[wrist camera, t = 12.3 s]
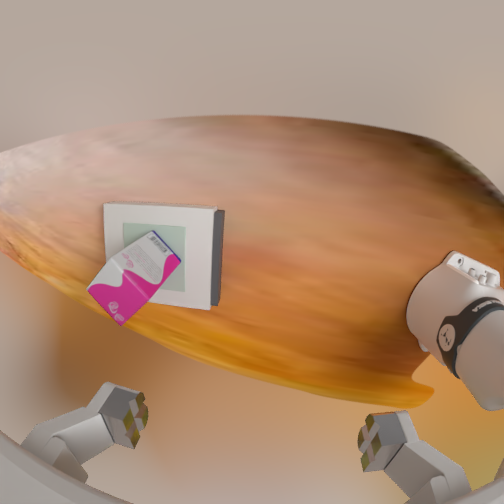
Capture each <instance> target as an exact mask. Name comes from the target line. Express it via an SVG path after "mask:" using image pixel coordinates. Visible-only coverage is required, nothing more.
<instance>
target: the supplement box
mask: <svg viewBox="0 0 504 504" xmlns="http://www.w3.org/2000/svg"><path fill="white" fill-rule="evenodd" d="M180 263H181V259H180V258H179V257H178V256H177V255H176V254H175V253H174V252H173V251H172V250H171V248H170V247H169V246H168V245H167V244H166V243H165V242H164V241H163V240H162V239H161V238H160V237H159V235H158V234H157V233H156V232H155V231H154V230H153V231H151V232H149V233H148V234H146V235H144V236H143V237H141V238H139V239H138V240H136V241H135V242H133V243H132V244H130V245H129V246H127V247H125V248H124V249H122V250H121V251H119V252H118V253H116V254H115V255H113V256H112V257H110V258H109V260H108V261H107V262H106V263H105V265H104V266H103V267H102V268H101V270H100V271H99V272H98V274H97V275H96V276H95V278H94V279H93V281H92V282H91V283H90V285H89V286H88V287H87V289H86V290H87V291H88V292H89V293H90V294H91V295H92V296H93V298H94V299H95V300H96V301H97V302H98V303H99V304H100V305H101V306H102V307H103V308H104V309H105V310H106V311H107V313H108V314H109V315H110V316H111V317H112V318H113V319H114V320H115V321H116V322H117V323H118V324H119V325H120V326H122V325H123V324H124V323H125V322H126V321H127V320H128V319H129V318H130V317H131V316H132V315H133V314H135V313H136V312H137V311H138V310H139V309H140V308H141V307H142V306H143V305H144V304H145V303H147V302H148V301H149V300H150V299H151V297H152V296H153V295H154V294H155V292H156V291H157V290H158V289H159V288H160V287H161V285H162V284H163V283H164V282H165V281H166V279H167V278H168V277H169V276H170V275H171V273H172V272H173V271H174V270H175V269H176V268H177V266H178V265H179V264H180Z"/></svg>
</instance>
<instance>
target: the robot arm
mask: <svg viewBox="0 0 504 504" xmlns="http://www.w3.org/2000/svg"><path fill="white" fill-rule="evenodd" d="M458 260H459V261H458ZM499 285H500V275H499V272H498V271H496V270H495V269H493V268H491V267H489V266H487V265H485V264H483V263H481V262H478V261H476V260H474V259H472V258H470V257H468V256H466V255H463V254H461V253H459V252H457V251H452V252H450V253H449V254H448V256H447V257H446V258H445V260H444V261H443V262H442V263H441V264H440V265H439V266H438V267H436V268H434V269H433V270H431V271H430V272H429V273H428V274H427V275H425V276H424V277H423V279H422V280H421V281H420V282H419V283H418V285H417V286H416V288H415V289H414V291H413V293H412V295H411V297H410V300H409V303H408V307H407V314H406V319H407V325H408V328H409V330H410V331H411V333H412V334H413V335H414V336H415V337H416V338H417V339H418V342H419V346H420V348H421V349H422V350H423V351H424V352H427V351H429V352H430V353H431V354H432V355H433V356H434V357H435V358H436V359H437V360H438V361H439V362H440V363H441V364H442V365H444V366H447V367H448V369H449V371H450V372H451V373H453V374H454V375H455V377H457V378H459V379H461V380H462V381H463V383H464V384H465V385H466V387H467V388H468V389H469V391H470V392H471V394H472V395H473V396H474V398H475V399H476V400H477V402H478V403H479V405H480V406H481V407H482V408H483V409H485V410H488V411H495V410H500V409H504V289H503V288H501V287H500V286H499ZM144 400H145V397H144V394H143V393H142V392H139V391H136V390H132V389H129V388H126V387H123V386H119V385H116V384H113V383H110V382H106V383H104V384H103V385H102V387H101V388H100V389H99V391H98V392H97V393H96V395H95V396H94V397H93V399H92V400H91V401H90V403H89V404H88V406H87V407H86V408H85V407H81V408H79V409H76V410H74V411H71V412H69V413H66V414H64V415H61V416H58V417H56V418H53V419H51V420H48V421H45V422H43V423H40V424H37V425H36V426H35V427H34V428H33V430H32V431H31V432H30V433H29V435H28V436H27V437H26V439H25V440H24V441H23V442H22V444H21V445H19V444H18V443H16V442H15V441H14V440H12V439H11V438H9V437H8V436H7V435H6V434H4V433H3V432H2V431H1V430H0V504H133V503H130V502H127V501H124V500H122V499H119V498H116V497H114V496H112V495H109V494H107V493H104V492H102V491H100V490H98V489H95V488H93V487H91V486H89V485H87V484H85V482H86V480H87V478H88V474H87V473H86V471H85V470H84V469H83V467H82V466H81V464H83V463H84V462H86V461H88V460H89V459H91V458H93V457H94V456H96V455H98V454H99V453H101V452H102V451H104V450H106V449H107V448H109V447H110V446H112V445H114V443H116V444H119V445H122V446H126V447H129V448H132V449H135V447H136V444H137V442H138V440H139V438H140V435H139V431H141V430H142V429H144V428H145V426H146V424H147V420H148V408H147V406H146V405H145V404H144V403H143V402H144ZM365 421H366V425H364V426H363V427H362V428H361V430H360V432H359V435H358V448H359V450H360V451H361V452H362V453H363V456H362V458H361V463H362V468H363V472H369V471H377V470H384V472H385V473H386V474H387V475H388V476H389V477H390V478H391V479H392V480H393V481H394V482H395V483H396V484H397V485H398V486H399V487H400V488H401V489H402V490H403V491H404V493H406V494H407V496H408V497H410V499H409V500H408V501H407V502H406V503H405V504H504V458H503V461H502V463H501V465H500V467H499V469H498V471H497V473H496V476H495V478H494V481H492V482H490V483H488V484H486V485H484V486H482V487H480V488H478V489H476V490H474V491H472V490H471V488H470V485H469V482H468V480H467V477H466V475H465V472H464V470H463V468H462V467H461V466H459V465H458V464H457V463H455V462H454V461H452V460H451V459H449V458H448V457H446V456H445V455H443V454H442V453H441V452H439V451H438V450H436V449H435V448H433V447H432V446H431V445H429V444H428V443H426V442H425V441H423V440H421V441H420V440H419V438H418V435H417V433H416V430H415V428H414V426H413V423H412V421H411V418H410V416H409V414H408V412H407V411H405V410H404V411H396V412H385V413H374V414H369V415H368V416H367V418H366V420H365Z"/></svg>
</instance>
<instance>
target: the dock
mask: <svg viewBox="0 0 504 504" xmlns="http://www.w3.org/2000/svg"><path fill="white" fill-rule="evenodd" d="M217 207H218V206H206V205H190V204H172V203H152V202H127V201H112V202H108V203H104V237H105V254H106V262H107V261H108V260H109V258H110V257H112V256H113V255H115V254H116V253H118V252H119V251H121V250H122V249H124V248H125V247H127V246H129V245H130V244H132V243H133V242H135V241H136V240H138V239H139V238H141V237H143V236H144V235H146V234H148V233H149V232H151V231H153V230H154V231H155V232H156V233H157V234H158V235H159V237H160V238H161V239H162V240H163V241H164V242H165V243H166V244H167V245H168V246H169V247H170V248H171V250H172V251H173V252H174V253H175V254H176V255H177V256H178V257H179V258H180V259H181V263H180V264H179V265H178V266H177V268H176V269H175V270H174V271H173V272H172V273H171V275H170V276H169V277H168V278H167V279H166V281H165V282H164V283H163V284H162V285H161V287H160V288H159V289H158V290H157V291H156V292H155V294H154V295H153V296H152V297H151V299H150V300H149V301H148V302H152V303H159V304H166V305H173V306H180V307H188V308H195V309H203V310H210V308H211V306H212V305H213V306H218V303H219V300H220V289H221V267H222V248H223V230H224V213H225V211H224V210H217Z"/></svg>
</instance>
